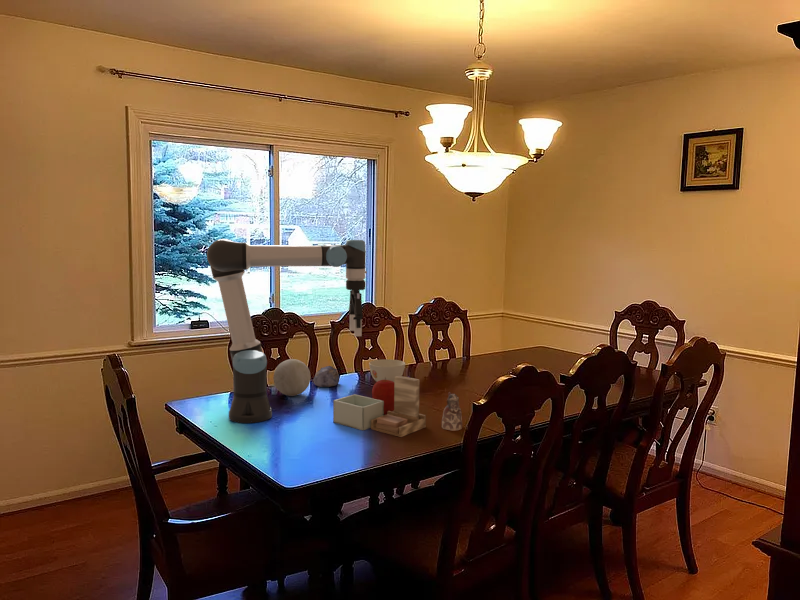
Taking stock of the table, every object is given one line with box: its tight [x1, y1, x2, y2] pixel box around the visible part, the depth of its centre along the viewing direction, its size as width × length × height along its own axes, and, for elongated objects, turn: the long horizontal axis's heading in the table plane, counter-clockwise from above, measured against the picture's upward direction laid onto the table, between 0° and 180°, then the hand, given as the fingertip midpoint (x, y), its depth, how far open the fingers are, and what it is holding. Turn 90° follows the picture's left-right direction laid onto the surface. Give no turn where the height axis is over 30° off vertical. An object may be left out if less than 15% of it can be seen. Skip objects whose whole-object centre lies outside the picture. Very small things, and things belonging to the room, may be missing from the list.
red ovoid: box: [371, 377, 395, 415], centre depth 231 cm, size 10×10×14 cm
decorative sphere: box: [272, 358, 311, 397], centre depth 255 cm, size 15×15×15 cm
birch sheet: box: [393, 375, 420, 418], centre depth 217 cm, size 2×9×16 cm, turn 52°
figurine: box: [441, 391, 463, 432], centre depth 215 cm, size 7×7×12 cm
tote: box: [332, 393, 384, 431], centre depth 219 cm, size 11×14×8 cm
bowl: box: [368, 358, 406, 383], centre depth 274 cm, size 16×16×10 cm
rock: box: [312, 365, 340, 388], centre depth 273 cm, size 11×10×10 cm
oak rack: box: [370, 411, 427, 438], centre depth 214 cm, size 14×13×4 cm
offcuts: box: [376, 414, 409, 433], centre depth 212 cm, size 7×10×3 cm
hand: (355, 333), depth 245 cm, fingers open, 13 cm apart
